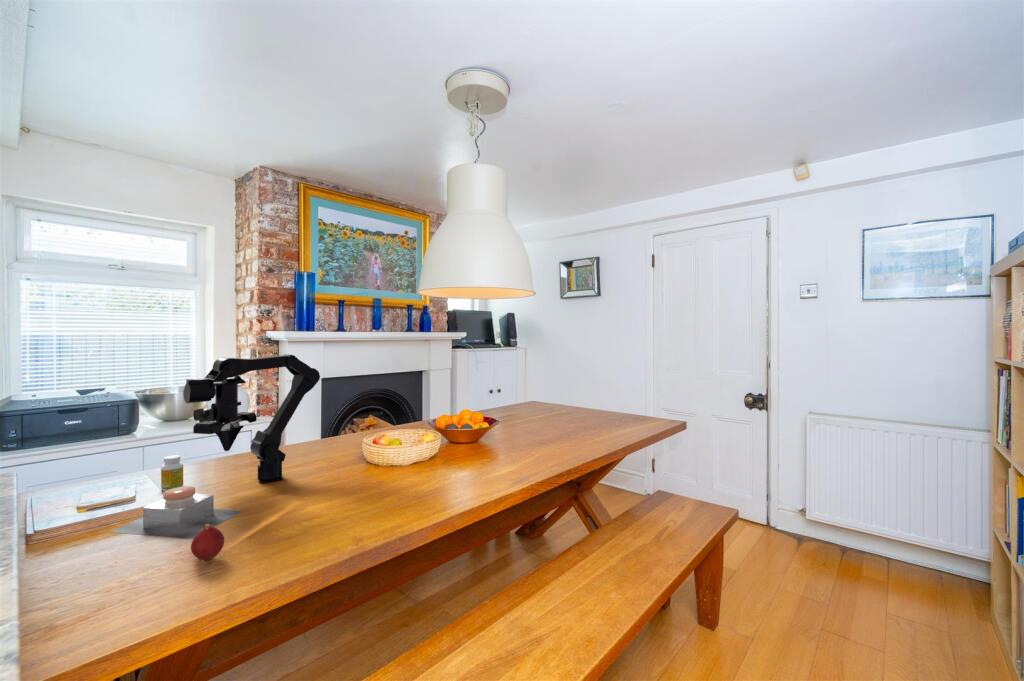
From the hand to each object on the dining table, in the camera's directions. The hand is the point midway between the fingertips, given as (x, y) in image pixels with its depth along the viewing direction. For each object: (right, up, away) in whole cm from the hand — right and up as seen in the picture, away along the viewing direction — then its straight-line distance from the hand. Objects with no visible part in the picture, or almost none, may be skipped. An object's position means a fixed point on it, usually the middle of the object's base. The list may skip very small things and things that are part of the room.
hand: (226, 450), depth 136 cm
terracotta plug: (+3, -11, -23) cm, 26 cm away
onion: (+22, -14, -40) cm, 48 cm away
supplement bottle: (-17, -12, +1) cm, 21 cm away
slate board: (+3, -13, -23) cm, 27 cm away
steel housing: (+3, -12, -23) cm, 26 cm away
